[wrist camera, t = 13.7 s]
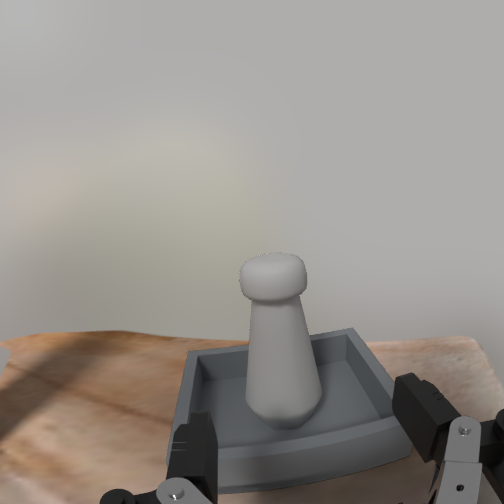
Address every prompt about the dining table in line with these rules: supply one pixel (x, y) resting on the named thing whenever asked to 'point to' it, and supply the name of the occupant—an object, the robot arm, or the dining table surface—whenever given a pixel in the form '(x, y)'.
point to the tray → (311, 432)
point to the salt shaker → (279, 342)
